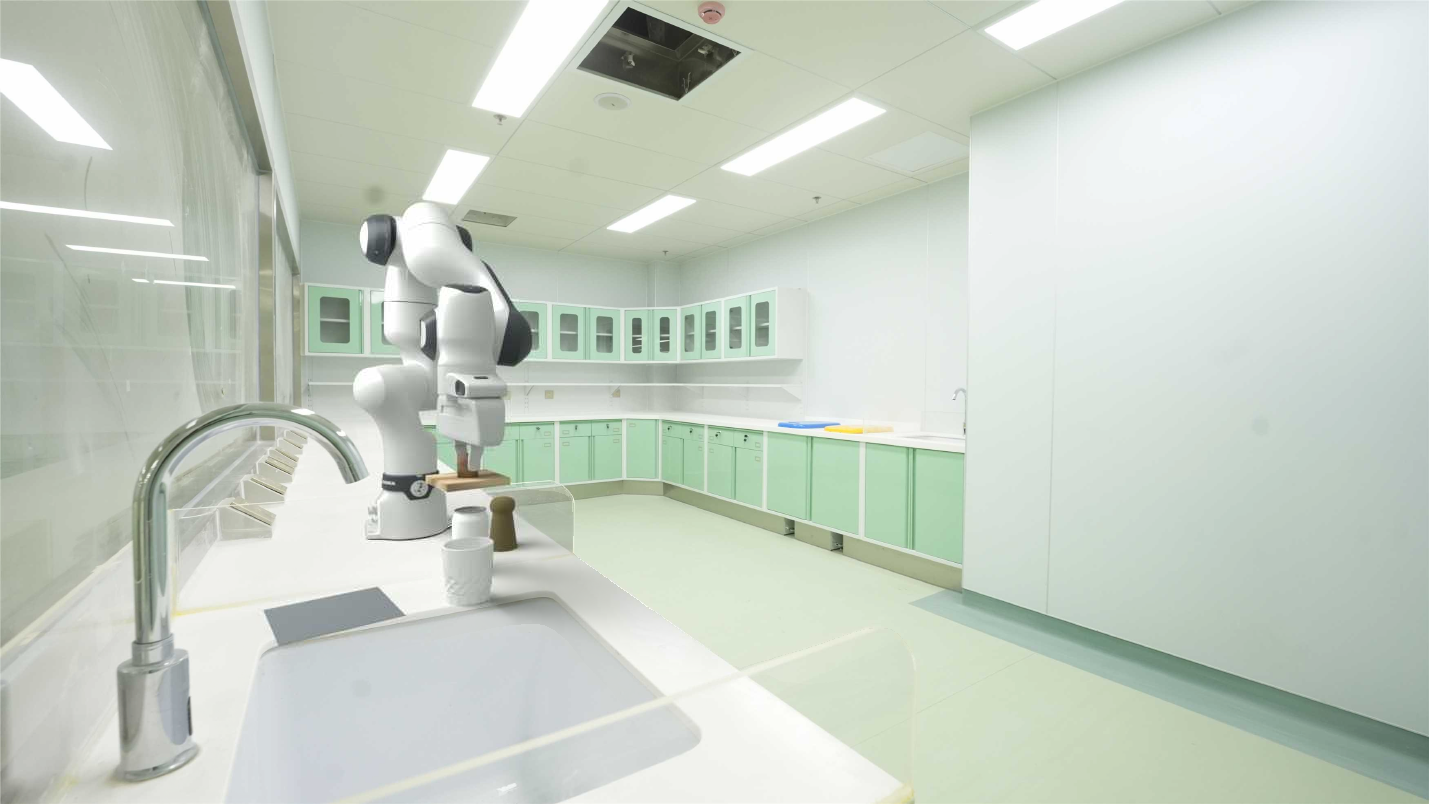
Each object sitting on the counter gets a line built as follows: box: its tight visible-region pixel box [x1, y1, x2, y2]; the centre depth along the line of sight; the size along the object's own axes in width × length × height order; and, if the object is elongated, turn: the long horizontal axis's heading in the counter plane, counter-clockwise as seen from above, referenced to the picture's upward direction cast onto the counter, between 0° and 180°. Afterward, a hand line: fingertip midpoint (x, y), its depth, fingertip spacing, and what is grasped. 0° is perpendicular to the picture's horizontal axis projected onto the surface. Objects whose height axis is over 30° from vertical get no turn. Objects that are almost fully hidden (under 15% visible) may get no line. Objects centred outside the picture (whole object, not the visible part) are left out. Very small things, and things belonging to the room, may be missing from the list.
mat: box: [263, 586, 406, 647], centre depth 95 cm, size 16×16×1 cm
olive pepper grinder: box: [489, 495, 518, 553], centre depth 132 cm, size 6×6×11 cm
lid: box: [426, 452, 511, 493], centre depth 101 cm, size 10×10×5 cm
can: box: [451, 505, 490, 540], centre depth 117 cm, size 6×6×12 cm
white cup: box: [441, 537, 494, 607], centre depth 102 cm, size 8×8×10 cm
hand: (467, 468), depth 101 cm, fingers closed on lid, 3 cm apart
